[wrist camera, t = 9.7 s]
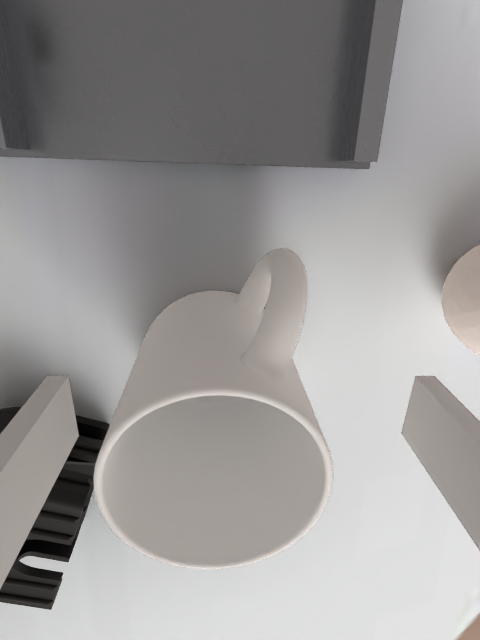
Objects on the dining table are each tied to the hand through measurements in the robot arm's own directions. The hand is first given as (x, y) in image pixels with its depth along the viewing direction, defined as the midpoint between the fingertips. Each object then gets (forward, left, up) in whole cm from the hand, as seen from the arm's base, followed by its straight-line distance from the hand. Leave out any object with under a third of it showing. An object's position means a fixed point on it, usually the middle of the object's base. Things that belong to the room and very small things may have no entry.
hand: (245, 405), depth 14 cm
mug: (0, 0, -8) cm, 8 cm away
